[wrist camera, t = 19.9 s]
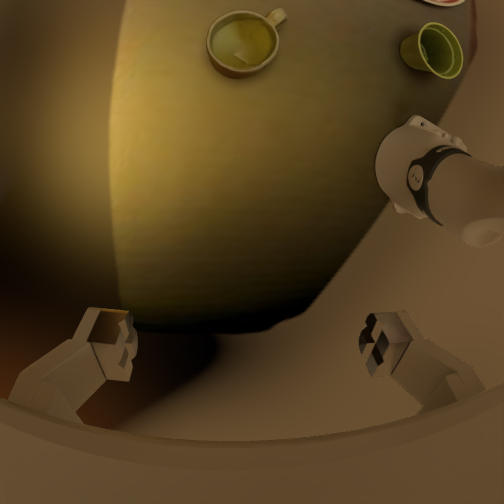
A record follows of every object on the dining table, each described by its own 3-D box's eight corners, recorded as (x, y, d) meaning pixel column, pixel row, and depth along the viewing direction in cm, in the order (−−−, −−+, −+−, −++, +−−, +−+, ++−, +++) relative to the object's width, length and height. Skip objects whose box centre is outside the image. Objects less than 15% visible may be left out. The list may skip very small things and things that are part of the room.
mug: (229, 103, 39) (229, 74, 29) (194, 55, 37) (187, 20, 27) (298, 68, 38) (315, 36, 29) (262, 24, 37) (269, -12, 27)
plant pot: (380, 40, 35) (408, 34, 28) (414, 22, 33) (443, 15, 25) (409, 86, 39) (439, 88, 32) (440, 65, 37) (471, 66, 29)
